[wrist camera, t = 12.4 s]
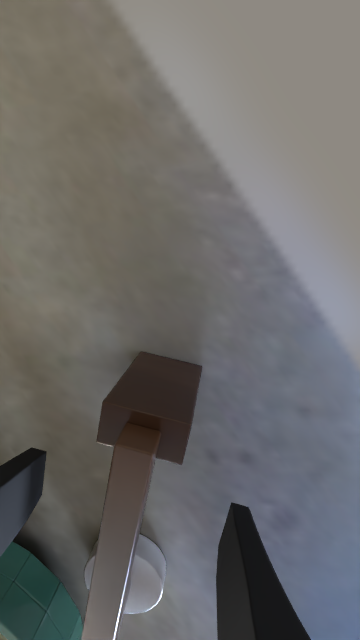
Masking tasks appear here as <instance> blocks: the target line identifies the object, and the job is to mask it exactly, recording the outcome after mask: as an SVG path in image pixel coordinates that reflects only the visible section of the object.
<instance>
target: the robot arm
mask: <svg viewBox="0 0 360 640" xmlns="http://www.w3.org/2000/svg"><path fill="white" fill-rule="evenodd" d="M45 461H46V451H42V450H39V449H35V448H30V449H28V450H27V451H25V452H23V453H21V454H20V455H18V456H16V457H15V458H13V459H11V460H10V461H8V462H6V463H4V464H3V465H1V466H0V557H1V555H2V554H3V553H4V551H5V550H6V549H7V547H8V546H9V545H10V543H11V542H12V541H13V539H14V538H15V536H16V535H17V534H18V532H19V531H20V530H21V528H22V527H23V525H24V524H25V523H26V521H27V519H28V518H29V516H30V514H31V513H32V511H33V509H34V508H35V506H36V504H37V502H38V501H39V499H40V497H41V495H42V489H43V480H44V470H45ZM216 589H217V630H218V640H311V639H310V637H309V636H308V634H307V632H306V630H305V629H304V627H303V625H302V623H301V622H300V620H299V618H298V616H297V614H296V613H295V611H294V609H293V607H292V605H291V603H290V601H289V599H288V597H287V595H286V593H285V591H284V589H283V587H282V585H281V583H280V581H279V579H278V577H277V575H276V573H275V571H274V568H273V566H272V564H271V562H270V559H269V557H268V555H267V553H266V550H265V548H264V546H263V543H262V541H261V538H260V536H259V533H258V531H257V528H256V525H255V523H254V520H253V517H252V514H251V511H250V509H249V508H248V507H246V506H242V505H239V504H235V503H231V506H230V509H229V513H228V516H227V519H226V523H225V526H224V529H223V533H222V536H221V539H220V543H219V547H218V560H217V575H216Z"/></svg>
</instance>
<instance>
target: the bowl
mask: <svg viewBox="0 0 360 640" xmlns="http://www.w3.org/2000/svg"><path fill="white" fill-rule="evenodd" d="M82 631H83V623H82V618H81V614H80V613H79V610H78V608H77V606H76V605H75V603H74V602H73V600H72V598H71V597H70V595H69V593H68V592H67V590H66V589H65V587H64V585H63V584H62V582H61V581H60V580H59V579H58V578H57V577H56V576H55V575H54V574H53V573H52V572H51V571H50V570H49V569H48V568H47V567H46V566H45V565H44V564H43V563H41V562H40V561H39V560H38V559H37V558H36V557H35V556H34V555H33V554H32V553H31V552H30V551H28V550H26V549H25V548H23V547H21V546H19V545H18V544H16V543H14V542H13V541H12V542H11V543H10V545H9V546H8V547H7V549H6V550H5V551H4V553H3V554H2V555H1V557H0V633H1V634H2V635H3V636H4V637H5V638H6V639H7V640H81V637H82Z"/></svg>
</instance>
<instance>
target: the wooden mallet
mask: <svg viewBox="0 0 360 640" xmlns="http://www.w3.org/2000/svg"><path fill="white" fill-rule="evenodd" d="M201 370H202V366H199V365H195V364H191V363H187V362H183V361H178V360H174V359H170V358H166V357H162V356H158V355H154V354H150V353H145V352H140V353H139V355H138V356H137V357H136V359H135V360H134V361H133V363H132V364H131V365H130V367H129V368H128V369H127V371H126V372H125V373H124V374H123V376H122V377H121V378H120V380H119V381H118V382H117V384H116V385H115V386H114V388H113V389H112V390H111V392H110V393H109V394H108V395H107V397H106V398H105V399H104V401H103V403H102V409H101V416H100V422H99V429H98V435H97V442H98V443H101V444H105V445H109V446H112V447H114V451H113V456H112V462H111V468H110V474H109V480H108V486H107V491H106V497H105V503H104V509H103V515H102V520H101V526H100V532H99V538H98V541H97V542H96V543H95V545H94V547H93V550H92V552H91V554H90V557H89V559H88V561H87V564H86V566H85V569H84V580H85V583H86V586H87V588H88V590H89V596H88V602H87V608H86V613H85V619H84V625H83V631H82V637H81V640H117V637H118V633H119V629H120V626H121V622H122V618H123V615H124V613H129V614H134V613H141V612H145V611H147V610H149V609H151V608H153V607H154V606H155V605H156V604H157V603H158V601H159V600H160V598H161V595H162V591H163V586H164V580H165V574H166V561H165V558H164V556H163V554H162V552H161V550H160V549H159V548H158V546H157V545H156V544H155V543H154V542H152V541H151V540H150V539H148V538H147V537H145V536H143V535H141V534H140V529H141V524H142V520H143V515H144V510H145V506H146V501H147V496H148V492H149V487H150V482H151V478H152V473H153V468H154V464H155V459H156V458H157V459H160V460H164V461H168V462H172V463H175V464H179V465H182V463H183V459H184V455H185V451H186V447H187V442H188V438H189V434H190V430H191V426H192V421H193V415H194V409H195V404H196V398H197V393H198V387H199V382H200V376H201Z"/></svg>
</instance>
